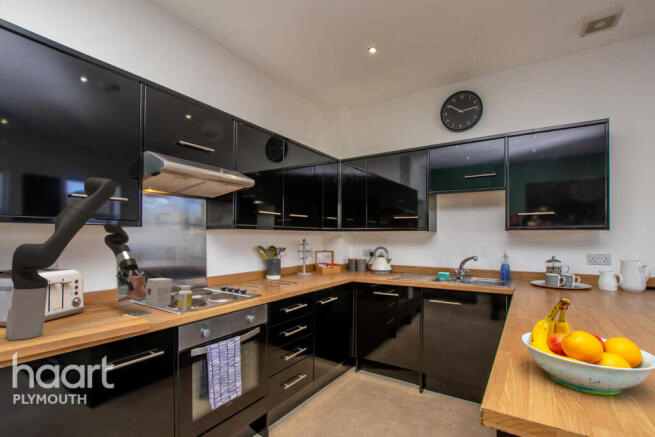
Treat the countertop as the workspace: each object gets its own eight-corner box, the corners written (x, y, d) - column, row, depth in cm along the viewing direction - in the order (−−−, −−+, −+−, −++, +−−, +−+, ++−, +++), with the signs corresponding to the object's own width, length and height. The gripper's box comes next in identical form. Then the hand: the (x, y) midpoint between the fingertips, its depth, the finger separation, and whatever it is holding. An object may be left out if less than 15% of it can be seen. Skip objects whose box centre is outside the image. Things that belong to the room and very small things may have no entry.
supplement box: (144, 306, 169) (146, 278, 171) (160, 304, 177) (162, 277, 179) (155, 308, 165) (157, 280, 167) (170, 306, 173) (172, 278, 174)
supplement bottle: (191, 309, 166) (193, 284, 167) (190, 312, 160) (192, 286, 161) (177, 310, 164) (179, 285, 165) (176, 312, 158) (178, 286, 159)
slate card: (127, 318, 143) (127, 317, 143) (115, 315, 148) (115, 314, 148) (152, 313, 154) (152, 313, 154) (140, 311, 158) (141, 310, 159)
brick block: (132, 298, 148) (134, 277, 149) (127, 297, 150) (129, 276, 151) (143, 297, 152) (145, 276, 153) (137, 296, 155) (139, 275, 156)
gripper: (114, 257, 151) (126, 285, 144) (144, 257, 163) (156, 282, 156) (108, 268, 153) (119, 295, 146) (137, 267, 165) (149, 292, 158)
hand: (138, 288), depth 151 cm, fingers closed on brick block, 5 cm apart
